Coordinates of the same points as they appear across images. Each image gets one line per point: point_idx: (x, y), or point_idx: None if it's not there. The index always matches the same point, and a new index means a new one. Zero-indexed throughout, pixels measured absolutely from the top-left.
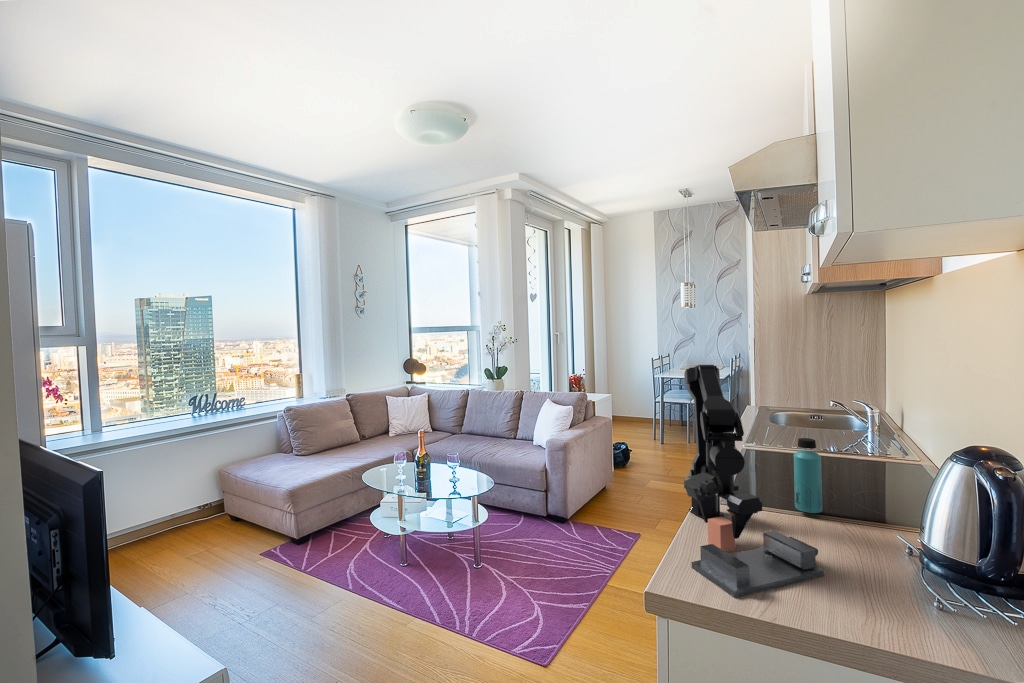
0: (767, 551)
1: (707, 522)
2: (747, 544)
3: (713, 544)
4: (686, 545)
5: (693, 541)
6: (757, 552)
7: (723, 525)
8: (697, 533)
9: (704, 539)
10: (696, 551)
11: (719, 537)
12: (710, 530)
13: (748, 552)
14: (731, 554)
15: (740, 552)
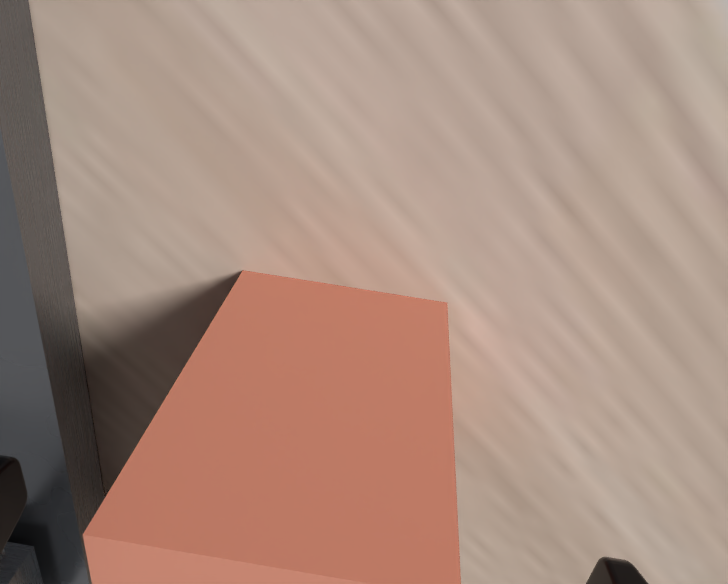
0: None
1: (592, 573)
2: None
3: (351, 308)
4: (605, 43)
5: (616, 227)
6: None
7: (93, 574)
8: (712, 418)
9: (561, 366)
10: (388, 21)
11: (200, 373)
12: (391, 426)
13: (17, 413)
14: (6, 244)
15: (33, 357)
